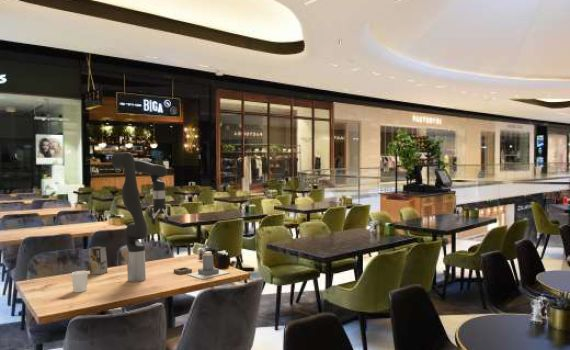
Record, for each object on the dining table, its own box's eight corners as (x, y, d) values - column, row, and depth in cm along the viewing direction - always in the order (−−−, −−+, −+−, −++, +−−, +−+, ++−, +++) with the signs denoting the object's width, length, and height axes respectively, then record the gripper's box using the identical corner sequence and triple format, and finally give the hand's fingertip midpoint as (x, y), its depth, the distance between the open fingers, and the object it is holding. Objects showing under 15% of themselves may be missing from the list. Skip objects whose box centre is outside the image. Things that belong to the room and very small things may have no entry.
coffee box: (108, 272, 296) (107, 246, 295) (101, 274, 290) (100, 248, 289) (95, 271, 298) (95, 246, 298) (89, 273, 292) (88, 248, 292)
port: (202, 279, 272) (202, 274, 271) (187, 275, 283) (187, 270, 283) (229, 273, 285) (229, 268, 285) (214, 269, 297) (214, 264, 297)
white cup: (83, 288, 258) (82, 269, 258) (90, 290, 253) (90, 271, 253) (69, 291, 252) (68, 272, 252) (76, 293, 247) (75, 274, 247)
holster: (180, 274, 285) (180, 271, 284) (173, 272, 290) (173, 269, 290) (191, 272, 290) (191, 269, 290) (184, 270, 296) (184, 267, 296)
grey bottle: (207, 274, 281) (206, 252, 281) (203, 273, 284) (202, 252, 284) (213, 273, 284) (213, 251, 284) (209, 272, 287) (208, 250, 287)
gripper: (151, 198, 284) (152, 225, 285) (172, 197, 294) (173, 223, 295) (145, 198, 290) (146, 224, 290) (166, 196, 300) (167, 222, 300)
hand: (160, 223), depth 292 cm, fingers open, 8 cm apart
